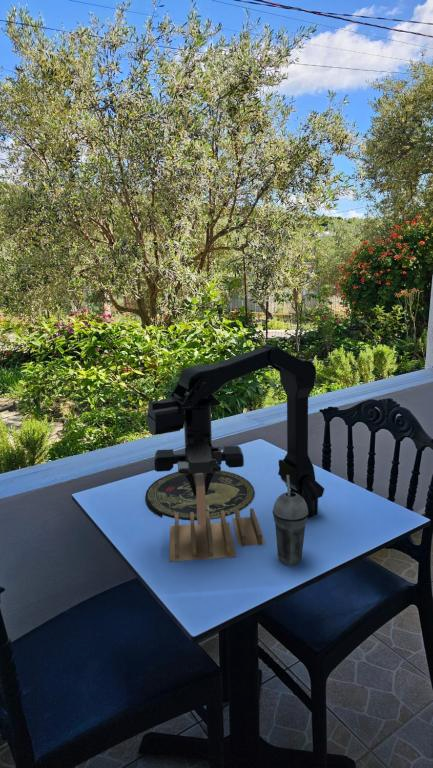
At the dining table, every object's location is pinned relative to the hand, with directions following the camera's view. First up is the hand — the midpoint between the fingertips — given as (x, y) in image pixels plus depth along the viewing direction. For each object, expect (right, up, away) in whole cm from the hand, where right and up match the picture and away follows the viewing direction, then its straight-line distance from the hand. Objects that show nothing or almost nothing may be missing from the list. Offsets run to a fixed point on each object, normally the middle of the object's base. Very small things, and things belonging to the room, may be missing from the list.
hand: (200, 494), depth 102 cm
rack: (0, -12, +3) cm, 12 cm away
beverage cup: (+19, -13, -5) cm, 23 cm away
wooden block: (0, -5, +1) cm, 5 cm away
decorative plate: (-1, -7, +26) cm, 27 cm away
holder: (+11, -11, +6) cm, 16 cm away
